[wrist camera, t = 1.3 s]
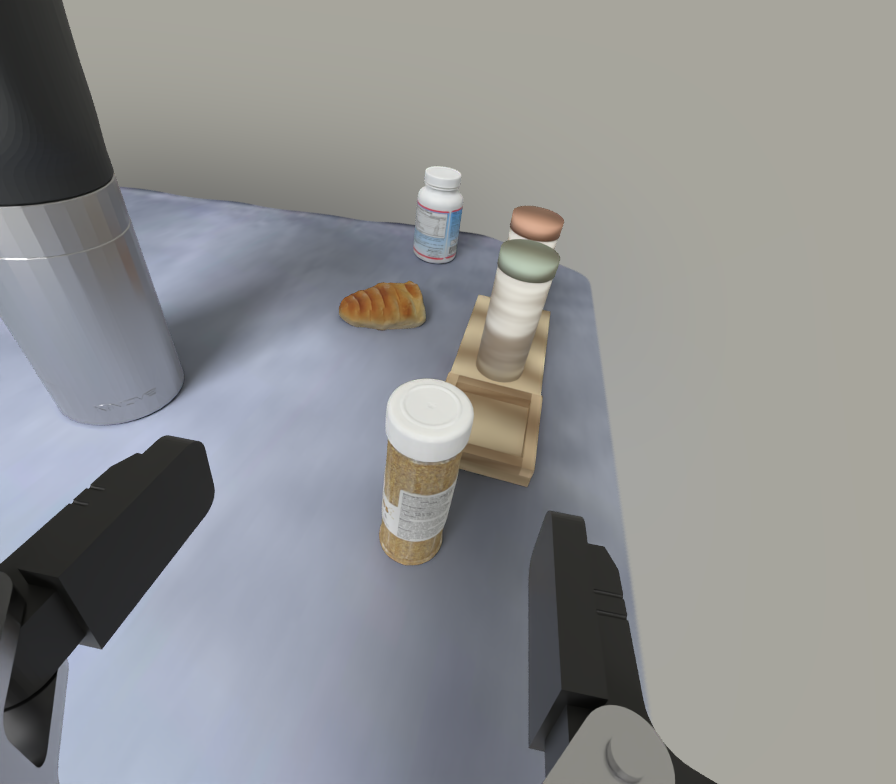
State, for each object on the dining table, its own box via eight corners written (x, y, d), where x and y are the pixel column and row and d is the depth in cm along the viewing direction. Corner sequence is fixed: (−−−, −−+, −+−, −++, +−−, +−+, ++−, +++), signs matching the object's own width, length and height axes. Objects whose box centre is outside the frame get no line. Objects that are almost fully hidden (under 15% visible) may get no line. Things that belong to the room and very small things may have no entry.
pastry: (346, 339, 48) (346, 308, 46) (333, 305, 52) (332, 275, 50) (429, 329, 51) (432, 300, 49) (410, 298, 56) (412, 269, 53)
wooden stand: (527, 487, 37) (583, 357, 28) (421, 458, 37) (441, 322, 28) (547, 320, 56) (584, 210, 47) (476, 302, 57) (499, 191, 47)
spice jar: (382, 507, 34) (391, 370, 25) (443, 512, 34) (474, 379, 25) (374, 566, 30) (381, 433, 21) (442, 571, 31) (477, 442, 22)
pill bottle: (441, 242, 68) (451, 162, 60) (462, 261, 64) (476, 179, 57) (405, 247, 65) (411, 164, 57) (425, 268, 61) (435, 182, 54)
